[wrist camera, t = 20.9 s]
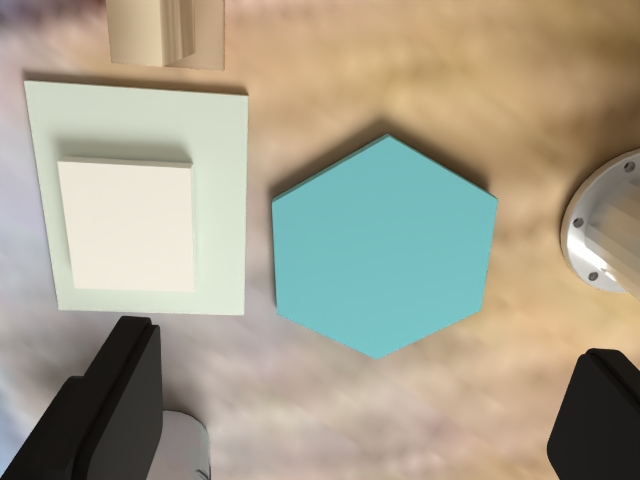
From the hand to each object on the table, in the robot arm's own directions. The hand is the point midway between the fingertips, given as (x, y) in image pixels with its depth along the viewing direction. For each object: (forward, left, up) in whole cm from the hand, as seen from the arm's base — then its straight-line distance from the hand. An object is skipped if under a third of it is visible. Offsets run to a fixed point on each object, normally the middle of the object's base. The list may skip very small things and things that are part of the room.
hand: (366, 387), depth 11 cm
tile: (+8, +8, -27) cm, 29 cm away
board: (+12, +7, -28) cm, 32 cm away
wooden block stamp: (+9, -7, -28) cm, 31 cm away
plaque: (-7, +10, -29) cm, 31 cm away
